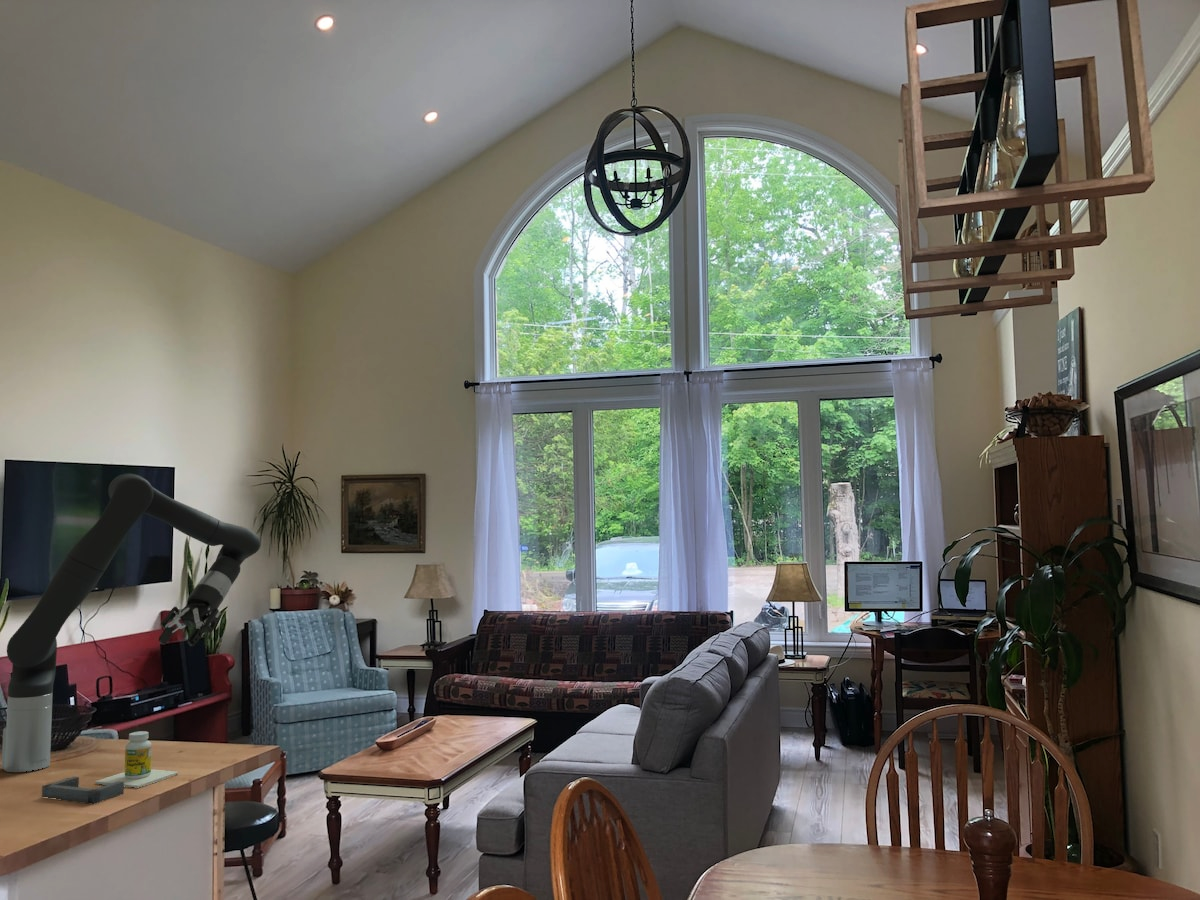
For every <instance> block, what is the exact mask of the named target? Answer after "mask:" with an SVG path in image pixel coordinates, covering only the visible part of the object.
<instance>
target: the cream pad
mask: <svg viewBox="0 0 1200 900" xmlns="http://www.w3.org/2000/svg"><path fill="white" fill-rule="evenodd" d="M178 773H179V774H180V772H179V771H173V770H163V769H154V768H153V769H152V768H151V774H150V775H149V776H147V777H144V778H138V779H128V778H126V777H125V771H123V772H120V773H117V774H114V775H111V776H108V777H105V778H101V779H99V780H98V779H97V780H95V781H94V784H95V785H99V784H102V785H101V786H105V785H108V784H111V783H114V782H117V781H122V782H124V786H125V787H124V788H128V787H134V788H133V789H137V788H138V789H140V788H139V787H141V788H143V787H142V786H144V787H146V786H145V785H147V786H149V784H150V785H153V784H154V783H155V782H156V783H158V782H161V781H163V780H167V779H169V778H168V777H170V778H172V777H171V776H173V775H175V774H178ZM173 777H174V776H173ZM166 778H167V779H166ZM152 783H153V784H152Z"/></svg>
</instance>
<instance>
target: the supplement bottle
mask: <svg viewBox="0 0 1200 900" xmlns="http://www.w3.org/2000/svg"><path fill="white" fill-rule="evenodd" d="M148 739H149V731H145V730H143V731H134V732H131V733H129V734H128V741H129V742H128V743H127V744H126V745H125V751H124V755H125V756H124V757H125V758H124V772H125V777H126V778H128V779H138V778H144V777H147V776H149V775H150V774H151V769H152V742H151V741H149V740H148Z"/></svg>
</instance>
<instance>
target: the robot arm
mask: <svg viewBox="0 0 1200 900" xmlns="http://www.w3.org/2000/svg"><path fill="white" fill-rule="evenodd" d="M108 496H109V499H110V500H109V502H108V504H107V506H106V507H105V509H104V511H103V512H102V514H101V515H100V517H99V518H98V519H97V521H96V522H95V524H94V525H93V526H92V527H91V528H90V529H89V530H87V532H86V533H84V535H83V536H82V537H81V538H79V540H78V541H77V542H76V543H75V544H74V545H73V546H72V547H71V549H70V550H69V551H68V553H67V555H66V556H65V557H64V559H63V561H62V562H61V564H60V565H59V566H58V568H57V570H56V571H55V573H54V575H53V576H52V578H51V579H50V581H49V583H48V585H47V586H46V587H45V588H46V589H45V590H44V592H43V594H42V596H41V598H40V600H39V601H38V603H37V604H36V606H35V607H34V609H33V610H32V611H31V613H30V614H29V616H27V618H26V619H25V620H24V621H23V623H22V624H21V625H20V626H19V628H18V629H17V630H16V631H15V632H14V633H13V634H12V636H11V637H10V639H9V641H8V643H7V645H6V654H7V658H8V660H9V662H10V663H11V664H12V671H11V676H10V680H9V683H8V687H7V702H6V705H7V707H6V708H7V709H6V726H5V727H4V728H3V730H2V749H1V768H2V769H1V770H4V772H7V773H26V771H27V772H32V770H34V771H39V770H42V768H43V769H45V768H47V767H49V766H50V765H51V749H52V748H51V747H52V746H51V745H52V717H53V713H52V712H53V694H54V693H53V692H54V691H53V690H54V684H55V683H54V682H55V677H56V671H57V669H56V668H57V653H58V643H57V641H58V640H57V636H58V635H59V633H60V632H61V629H62V628H63V626H64V624H65V623H66V621H67V620H68V618H69V617H70V616H71V615H72V613H73V612H74V611H75V610H76V609H77V608H78V607H79V606H80V605H81V604H82V602H84V600H85V599H86V598H87V596H89V594H90V593H91V592H92V590H93V589H94V588H95V587H96V585H97V584H98V582H99V580H100V579H101V577H102V576H103V575H104V573H105V572H106V570H107V569H108V567H109V565H110V563H111V561H112V560H113V558H114V556H115V555H116V554H117V551H118V549H119V548H120V546H121V545H122V543H123V540H124V539H125V537H127V534H128V533H129V531H130V530H131V529H132V528H133V526H134V525H135V524H136V522H138V520H139V519H140V518H141V517H142V515H143V514H145V515H148V516H151V517H152V518H155V519H157V520H160V521H161V522H163V523H165V524H166V525H169V526H170V527H172V528H174V529H176V530H178V532H180V533H183V534H185V535H187V537H191V538H192V539H194V540H196V541H198V542H201V543H203V544H205V545H207V546H209V547H210V546H211V547H216V546H217V547H218V546H221V548H220V549H219V552H218V554H217V556H216V559H215V561H214V562H213V563H212V565H210V568H209V569H208V571H207V572H206V573H205V574H204V575H203V576H202V578H201V579H200V580H199V582H198V583H197V584H196V586H195V587H194V589H193V590H192V592H191V593H190V594H189V596H188V597H187V600H186V605H185V606H184V607H183V608H182V609H180V608H178V607H177V606H173V608H171V610H170V611H169V612H168V614H167V615H166V616H165V618H164V619H163V620H162V622H161V623H160V625H161V626H162V628H163V631H162V633H160V635H159V637H158V641H159V643H160V644H161V645H165V646H166V645H167V643H168V642H169V640H170V639H171V637H172V636H173V634H174V633H175V632H176V631H178V630H179V629H180V630H182V629H184V628H186V627H191V626H192V627H195V628H194V629H193V630H192V632H191V633H190V635H189V637H187V640H186V643H187V644H188V645H189V646H190V647H194V646H195V645H196V644H197V643H198V642H199V640H200V639H201V637H202V635H205V634H206V633H209V634H211V633H212V632H213V631H214V630H215V628H216V626H217V625H218V623H219V621H220V620H221V617H222V613H221V611H220V610H219V609H218V608H219V607H220V605H221V604H222V602H223V601H224V599H225V598H226V597H227V595H228V594H229V592H230V589H231V587H232V586H233V584H234V583H235V582H236V580H237V579H238V576H239V574H240V573H241V565H242V564H243V562H245V560H246V559H248V558H250V557H251V556H253V555H254V554H256V553H257V552H259V550H260V548H261V544H262V543H261V540H260V539H261V538H260V537H259V535H257V534H256V532H254V531H253V530H251V529H249V528H247V527H244V526H242V525H236V524H233V523H229V522H224V521H221V520H220V519H218V518H216V517H213V516H211V514H207V513H205V512H204V511H202V510H198V509H197V508H194V507H191V505H190V506H189V505H187V504H185V503H182V502H180V501H179V500H176V499H173V498H171V497H170V496H168V495H166V494H164V493H162V492H161V491H159V489H156V488H155V487H153V486H152V484H151V483H150V482H149V480H147V479H145V478H144V477H143V476H141V475H138V474H135V473H124V474H120V475H117V476H116V477H115V478H114V479H113V480H112V481H111V482H110V483H109V486H108ZM180 620H181V622H182V623H181V622H180ZM174 625H175V626H174ZM38 769H39V770H38Z"/></svg>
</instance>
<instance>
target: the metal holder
mask: <svg viewBox="0 0 1200 900" xmlns="http://www.w3.org/2000/svg"><path fill="white" fill-rule="evenodd" d="M79 779H80V777H79V776H70V777H67V778H64V779H61V780H58V781H54V782H51V783H48V784H45V785H42V786H41V798H42V797H48V798H56V799H61V800H60V801H62V800H67V801H66V802H71V801H77V802H76V803H80V802H84V803H83V804H88V803H92V804H91V805H94V803H95V804H97V802H98V803H100V801H101V802H103V801H102V800H104V801H106V799H107V800H110V799H112V798H115V797H118V796H120V794H121V795H123V793H125V792H124V789H125V787H124V782H122V781H117V782H114V783H111V784H108V785H101V786H100V787H96V788H89V787H88V788H86V787H79V784H80V783H79V781H80V780H79ZM117 795H118V796H117ZM114 796H115V797H114ZM111 797H112V798H111ZM109 798H110V799H109Z"/></svg>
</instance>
